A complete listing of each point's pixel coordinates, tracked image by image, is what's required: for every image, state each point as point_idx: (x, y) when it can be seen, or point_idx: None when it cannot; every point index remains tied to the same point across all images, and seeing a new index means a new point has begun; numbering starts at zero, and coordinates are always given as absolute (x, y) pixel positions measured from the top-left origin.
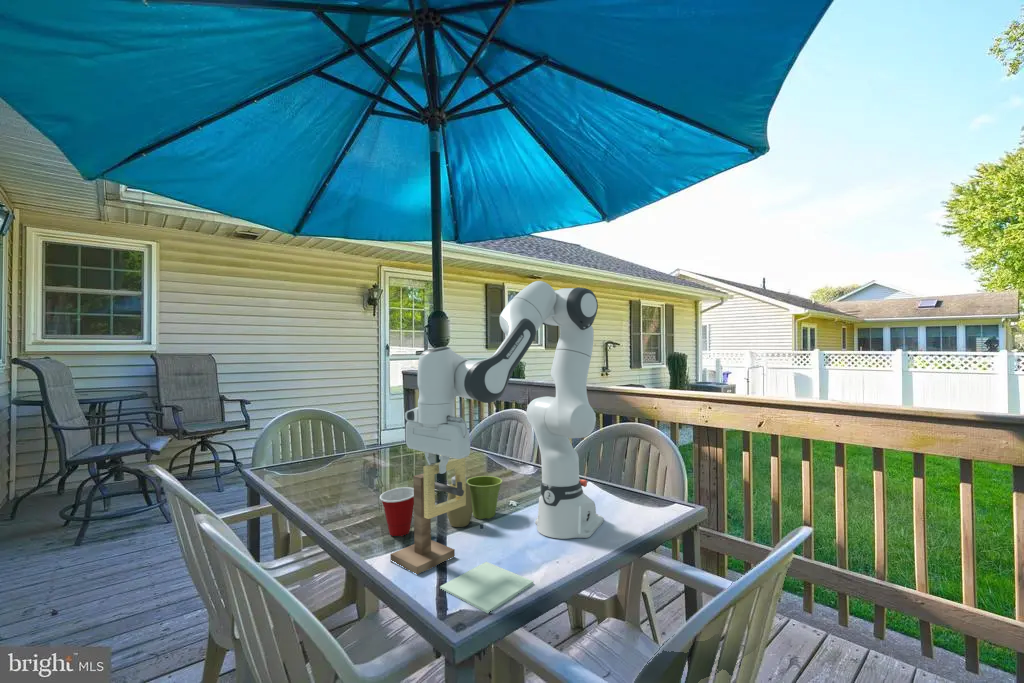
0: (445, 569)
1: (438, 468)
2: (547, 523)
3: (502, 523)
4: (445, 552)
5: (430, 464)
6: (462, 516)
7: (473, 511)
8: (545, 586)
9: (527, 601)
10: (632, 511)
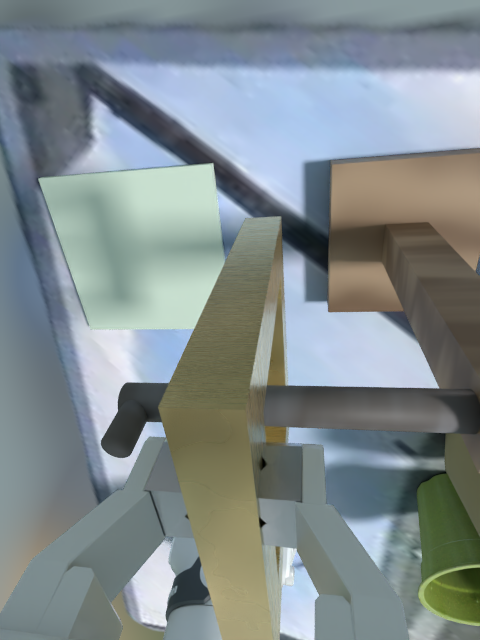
0: (292, 242)
1: (161, 469)
2: None
3: (369, 479)
4: (336, 284)
5: (286, 497)
6: (455, 445)
7: None
8: (71, 333)
9: (42, 270)
10: None
